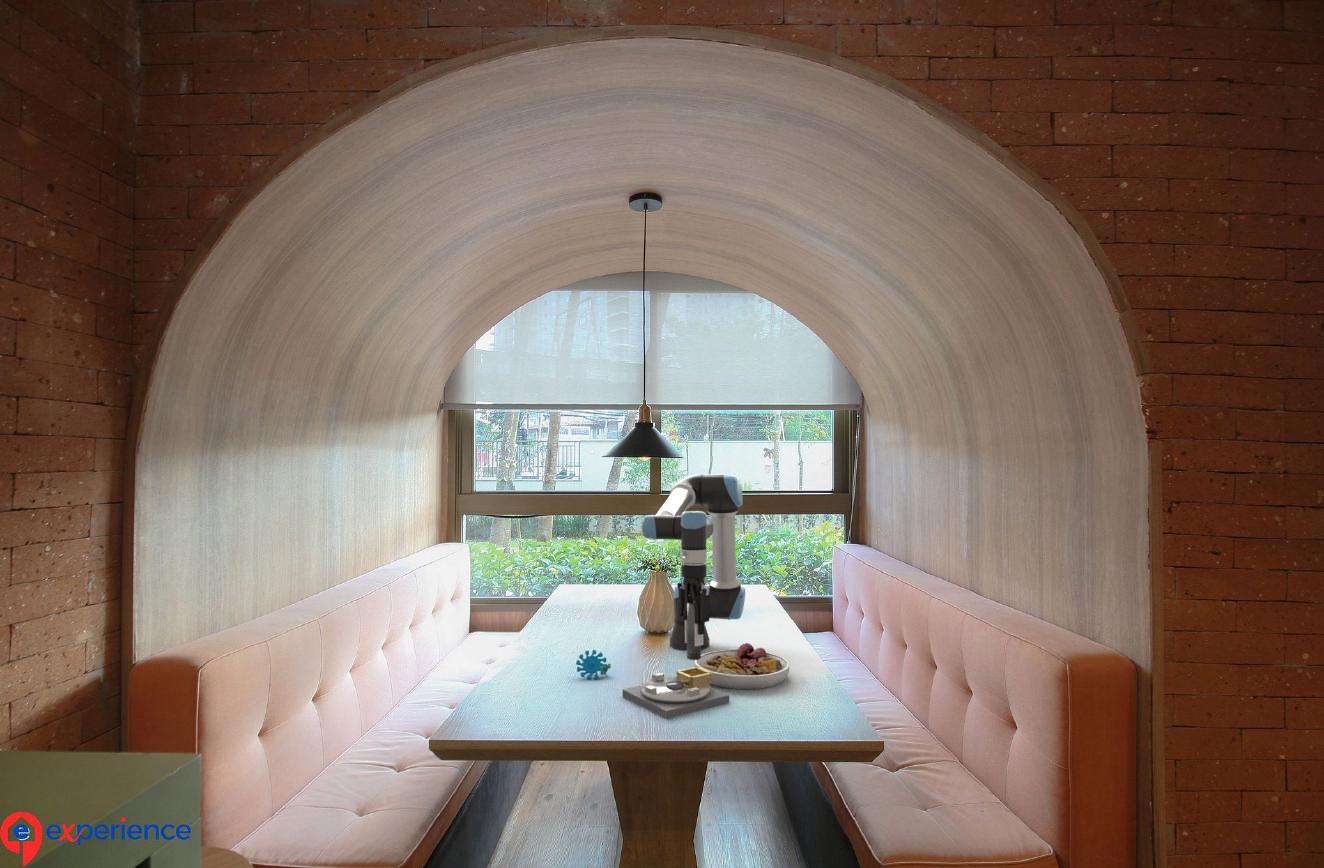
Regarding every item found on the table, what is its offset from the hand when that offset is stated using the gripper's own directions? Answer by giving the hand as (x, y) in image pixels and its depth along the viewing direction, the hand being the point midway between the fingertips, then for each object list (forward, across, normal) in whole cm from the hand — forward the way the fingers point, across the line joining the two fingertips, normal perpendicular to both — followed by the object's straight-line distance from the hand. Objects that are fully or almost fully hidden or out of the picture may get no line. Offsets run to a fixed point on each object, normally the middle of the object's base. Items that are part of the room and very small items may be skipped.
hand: (694, 643), depth 200 cm
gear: (+15, -33, -15) cm, 39 cm away
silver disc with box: (+13, 0, -6) cm, 14 cm away
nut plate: (+15, 0, -7) cm, 16 cm away
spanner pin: (+4, 0, 0) cm, 4 cm away
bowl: (+15, -5, +23) cm, 28 cm away
